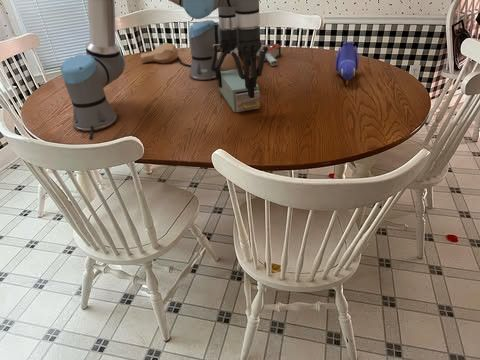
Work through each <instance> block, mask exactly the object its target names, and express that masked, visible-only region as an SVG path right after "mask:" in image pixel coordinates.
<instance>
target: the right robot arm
mask: <svg viewBox="0 0 480 360" xmlns="http://www.w3.org/2000/svg"><path fill="white" fill-rule="evenodd" d="M217 13H218V23H215V21H214V20H212V19H210V20H208V19H207V20H201V21H198V22H195V23H193V24H191V25H190V26H189V27H188V39H189V45H190V53H191V64H188V63H185V62H183V61H182V59H181V58H180V57H179V56H178V58H176V59H177V60H178V62H179V63H180V64H181V65H183V66H186V67H190V69H189V76H190V78H191V79H192V80H195V81H211V80H217V82H218V87H219V89H220V88H222V80H221V71H223V68H222V65H223V63H224V60H225V58H226V57H227V56H228V55H231V54H230V51H231V50H232V51H233V50H234V49H235V48H236V45H237V30H236V29H237V28H238V27H237V26H236V13H235V7H218V8H217ZM156 47H157V46H155V45H154V44H153V45H152V48H154V49H155V48H156ZM218 53H220V55H219V58H218ZM238 58H239V60H241V62H242V63H243V55H242V54H241V53H240V52H239V51H238ZM249 68H251V61H250V57H249ZM242 69H243V70H244V66H243V65H242Z"/></svg>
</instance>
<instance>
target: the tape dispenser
mask: <svg viewBox="0 0 480 360" xmlns="http://www.w3.org/2000/svg"><path fill="white" fill-rule="evenodd" d="M265 46H266V47H268V51H267V53H266V55H265V60H264V62H268V63H269V65H270V66H271V67H274V66H277V65H278V63H279V61H278V59H276V57H280V56H281V54H282V46H281V44H279V43H271V44H265ZM269 47H270V48H269ZM259 54H260V49H259V51H258V52H257V54H256V56H257V57H258V58H259Z"/></svg>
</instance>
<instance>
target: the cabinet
mask: <svg viewBox="0 0 480 360" xmlns="http://www.w3.org/2000/svg"><path fill="white" fill-rule="evenodd" d="M242 71H243V74H244V70H243V68H242ZM250 77H251V75H249V78H250ZM221 80H222V88H220V87H219V93H220V94H221V95H222V97H223V98H224V99H225V101H226V103H227V104H228V105H229V107H230V108H231V109H232V111H233V112H234V113H238V112H237V107H236V92H242V91H248V89H246V87H245V79H241V78H240V77H239V74H238V71H237V68H233V69H229V70H222V71H221ZM256 85H257V86H256V87H255V88H254V90H255V91H257V90H259V91H260V85H258V83H256Z"/></svg>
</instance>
